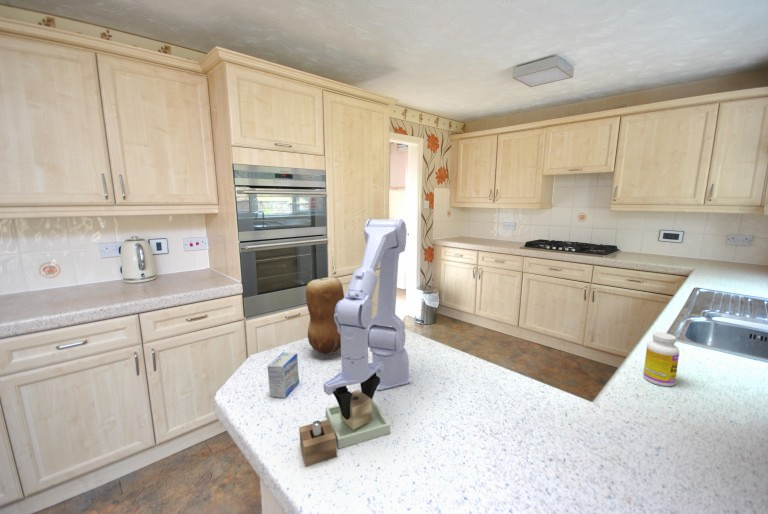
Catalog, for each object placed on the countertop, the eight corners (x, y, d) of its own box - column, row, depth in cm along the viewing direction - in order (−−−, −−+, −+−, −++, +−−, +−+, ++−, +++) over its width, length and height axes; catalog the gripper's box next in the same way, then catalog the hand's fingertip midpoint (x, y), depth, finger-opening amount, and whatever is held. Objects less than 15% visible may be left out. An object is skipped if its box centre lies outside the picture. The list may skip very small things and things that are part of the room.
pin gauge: (321, 446, 66) (319, 419, 66) (322, 452, 65) (321, 424, 64) (313, 449, 66) (311, 421, 65) (314, 454, 64) (313, 426, 63)
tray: (371, 404, 80) (371, 396, 80) (390, 433, 70) (390, 424, 70) (325, 416, 76) (325, 408, 76) (338, 448, 66) (338, 439, 66)
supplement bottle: (672, 390, 84) (678, 342, 82) (640, 380, 89) (645, 335, 87) (676, 381, 89) (683, 335, 87) (646, 371, 94) (651, 328, 92)
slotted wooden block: (329, 436, 69) (328, 419, 69) (336, 456, 64) (335, 438, 63) (300, 445, 67) (299, 427, 66) (305, 466, 62) (304, 447, 61)
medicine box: (285, 399, 83) (283, 366, 82) (269, 397, 84) (266, 365, 83) (299, 382, 91) (297, 352, 89) (284, 380, 92) (282, 351, 90)
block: (358, 409, 77) (358, 389, 76) (371, 420, 73) (371, 398, 72) (340, 418, 73) (339, 397, 73) (353, 429, 70) (352, 407, 69)
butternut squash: (314, 343, 116) (310, 273, 112) (352, 343, 116) (350, 273, 112) (303, 362, 102) (299, 283, 98) (346, 362, 102) (344, 282, 98)
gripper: (370, 338, 78) (371, 391, 80) (315, 357, 69) (317, 416, 71) (389, 348, 73) (390, 405, 75) (332, 370, 64) (335, 433, 66)
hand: (356, 411), depth 73 cm, fingers closed on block, 5 cm apart
